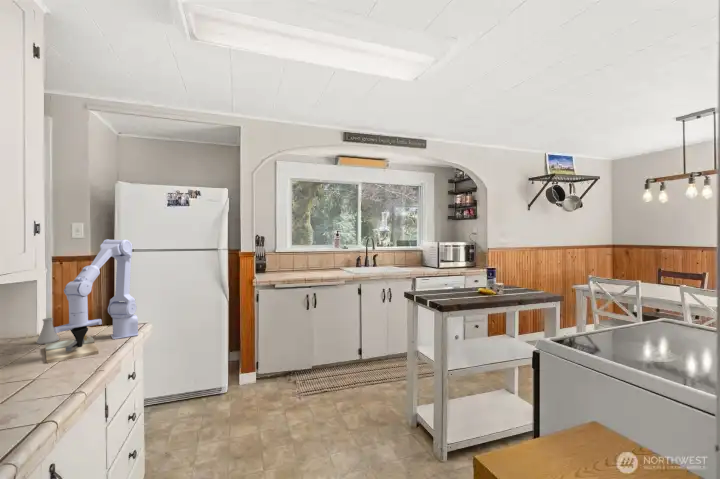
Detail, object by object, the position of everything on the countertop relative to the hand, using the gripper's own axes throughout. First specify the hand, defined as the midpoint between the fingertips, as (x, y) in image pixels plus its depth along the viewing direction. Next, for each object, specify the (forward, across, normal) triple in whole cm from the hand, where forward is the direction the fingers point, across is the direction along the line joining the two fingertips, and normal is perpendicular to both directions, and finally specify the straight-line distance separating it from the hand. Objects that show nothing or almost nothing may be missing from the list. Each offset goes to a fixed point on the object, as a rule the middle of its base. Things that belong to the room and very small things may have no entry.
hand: (79, 346), depth 136 cm
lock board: (+3, +1, -6) cm, 6 cm away
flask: (+3, +2, -28) cm, 28 cm away
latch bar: (0, +1, -2) cm, 2 cm away
